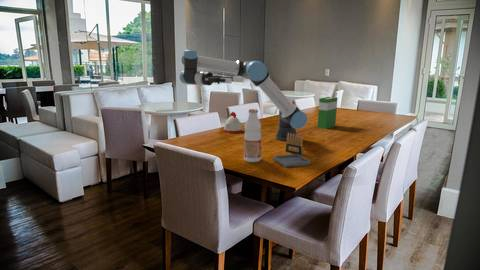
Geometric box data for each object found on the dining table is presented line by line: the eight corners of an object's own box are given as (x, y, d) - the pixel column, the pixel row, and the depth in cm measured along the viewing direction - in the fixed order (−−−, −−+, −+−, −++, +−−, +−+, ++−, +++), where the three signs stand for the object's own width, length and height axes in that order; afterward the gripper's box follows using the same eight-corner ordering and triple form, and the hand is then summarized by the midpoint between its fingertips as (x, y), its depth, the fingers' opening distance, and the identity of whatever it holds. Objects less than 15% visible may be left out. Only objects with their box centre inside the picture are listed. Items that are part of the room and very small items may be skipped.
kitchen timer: (229, 133, 244) (229, 113, 241) (220, 130, 255) (220, 111, 252) (245, 131, 251) (245, 112, 248) (235, 128, 263) (235, 110, 259)
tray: (297, 157, 187) (297, 153, 187) (310, 164, 174) (310, 161, 173) (273, 159, 182) (273, 156, 182) (285, 167, 169) (285, 163, 169)
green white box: (327, 124, 282) (329, 96, 276) (335, 125, 277) (337, 97, 272) (317, 127, 269) (319, 98, 263) (325, 129, 264) (327, 99, 259)
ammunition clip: (302, 154, 193) (303, 134, 191) (301, 154, 192) (302, 134, 189) (287, 150, 200) (288, 131, 197) (285, 151, 199) (286, 132, 196)
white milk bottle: (240, 158, 183) (241, 109, 177) (255, 156, 188) (256, 108, 181) (249, 163, 175) (249, 111, 169) (264, 161, 179) (265, 110, 173)
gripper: (216, 83, 199) (247, 85, 189) (191, 86, 177) (225, 88, 167) (216, 71, 197) (247, 72, 187) (191, 72, 175) (225, 73, 166)
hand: (237, 80), depth 177 cm, fingers open, 13 cm apart
